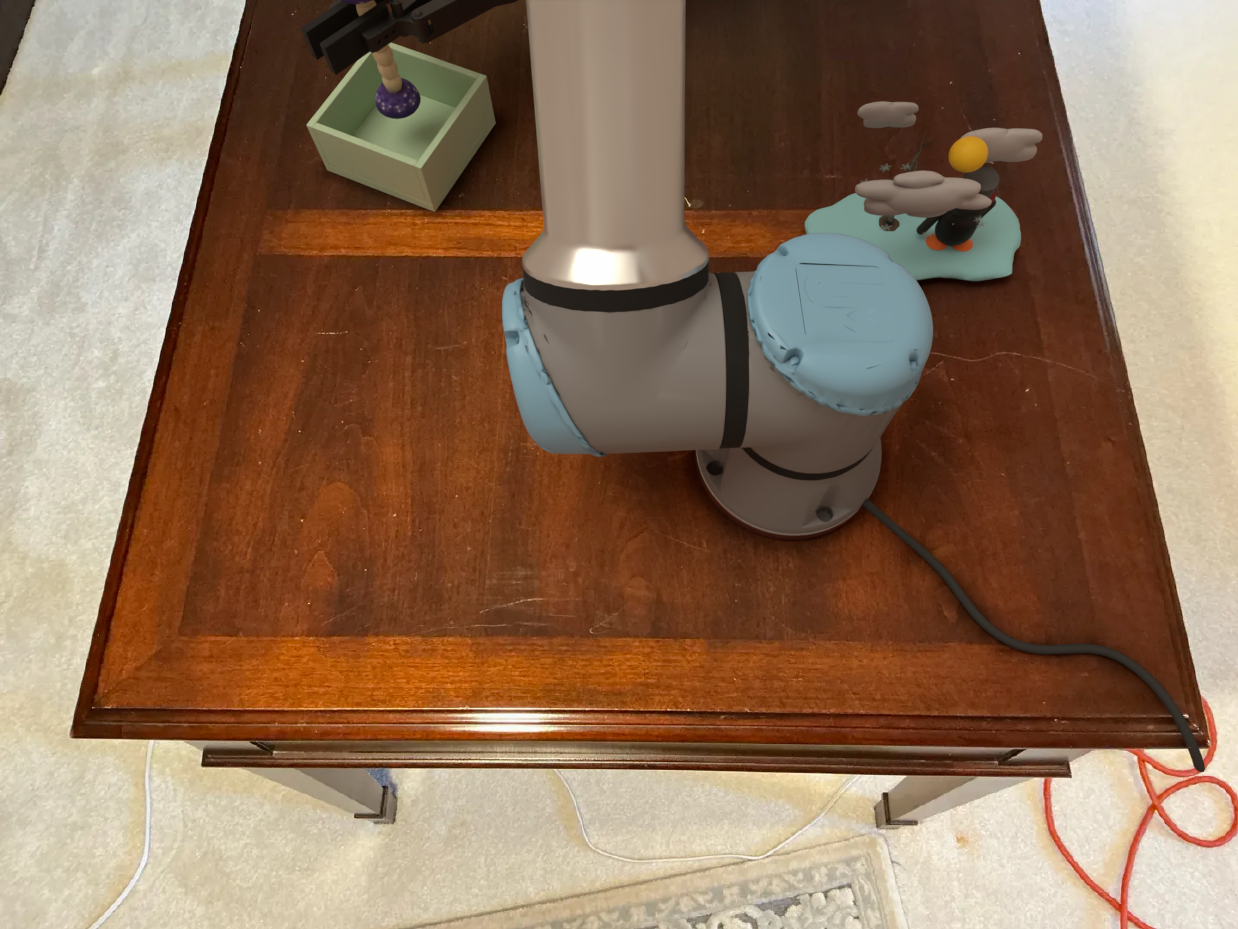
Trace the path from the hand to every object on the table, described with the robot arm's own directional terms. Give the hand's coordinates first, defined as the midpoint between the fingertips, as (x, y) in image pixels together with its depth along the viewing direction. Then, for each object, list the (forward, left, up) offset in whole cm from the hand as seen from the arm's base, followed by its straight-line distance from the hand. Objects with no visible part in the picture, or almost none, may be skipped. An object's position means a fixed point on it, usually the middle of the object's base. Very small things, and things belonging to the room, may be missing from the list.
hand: (318, 51), depth 70 cm
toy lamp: (-1, -5, -10) cm, 11 cm away
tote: (-2, -5, -15) cm, 16 cm away
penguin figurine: (-51, -14, -15) cm, 55 cm away
